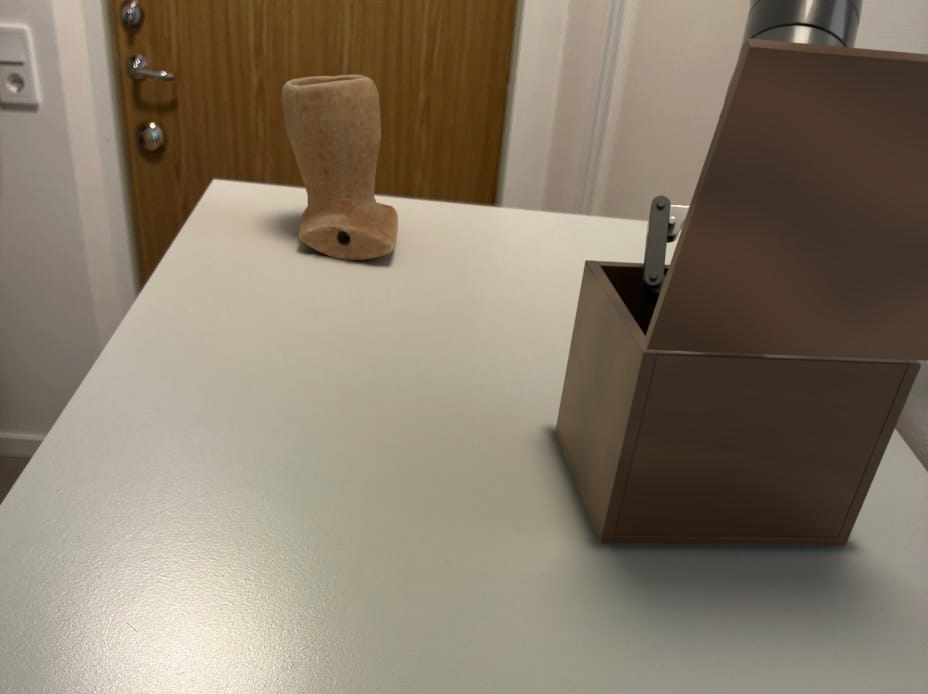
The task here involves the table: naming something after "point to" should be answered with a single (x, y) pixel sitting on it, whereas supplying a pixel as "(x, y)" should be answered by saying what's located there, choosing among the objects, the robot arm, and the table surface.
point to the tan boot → (339, 165)
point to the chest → (716, 430)
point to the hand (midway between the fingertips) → (723, 375)
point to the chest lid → (808, 211)
